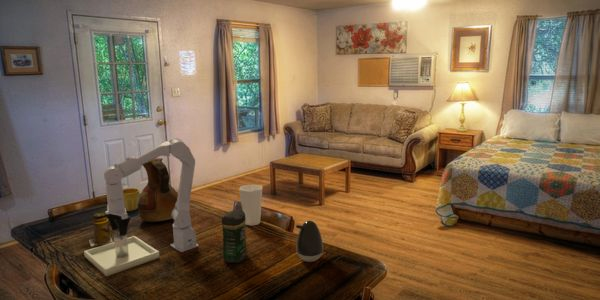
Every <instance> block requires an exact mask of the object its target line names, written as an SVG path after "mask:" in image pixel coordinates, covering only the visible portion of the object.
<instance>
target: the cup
mask: <svg viewBox="0 0 600 300" xmlns="http://www.w3.org/2000/svg"><path fill="white" fill-rule="evenodd" d="M263 189H264V188H263V185H260V184H254V183H253V184H246V185H241V186H240V187H239V196H240V203H241V210H242V211H243V212H244V213H245V218H246V223H245V226H246V225H247V226H256V225H260V223H261V215H262V204H263V203H262V199H263Z"/></svg>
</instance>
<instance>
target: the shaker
mask: <svg viewBox="0 0 600 300" xmlns="http://www.w3.org/2000/svg"><path fill="white" fill-rule="evenodd" d="M127 238H128V233H127V234H126V235H123V236H121V235H120V233H119V231H116V232H114V233H113V242H114V243H115V252H116V257H117V258H123V257H126V256H128V255H129V251H128V242H127Z"/></svg>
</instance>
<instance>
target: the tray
mask: <svg viewBox="0 0 600 300" xmlns="http://www.w3.org/2000/svg"><path fill="white" fill-rule="evenodd" d="M127 242H128V251H129V255H128V256H126V257H123V258H117V257H116V252H115V243H114V241H113V242H109V243H105V244H101V245H98V246H95V247H93V248H90V249H87V250H86V249H85V250H84V251H83V253H84V254H83V255H84V258H85V259H86V260H88V262H90V263H91V264H92V265H93V266H94V267H95V268H96V269H97V270H99V271H100V273H102V274H103V275H104V276H105V277H109V276H112V275H115V274H117V273H120V272H123V271H126V270H129V269H131V268H134V267H137V266H140V265H142V264H145V263H147V262H151V261H154V260H156V259H159V258H160V251H159V250H158V249H156V248H154V247H153V246H152V245H149V244H148V243H146V242H145V241H143V240H142V239H140V238H139V237H137V236H136V235H132V236H130V237H127Z"/></svg>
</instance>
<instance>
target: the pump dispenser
mask: <svg viewBox="0 0 600 300" xmlns="http://www.w3.org/2000/svg"><path fill="white" fill-rule="evenodd" d="M295 228H296V229H299V231H298V235H297V239H296V246H295V252H296V253H297V255H298V257H299V259H301V260H302V261H304V262H308V263H312V262H313V263H314V262H316V261H317V260H319V259H320V258H321V257H322V255H323V251H324V245H323V238H322V233H321V232H320V229H319V227H318V225H317V224H316V222H315V221H313V220H306V221H304V222H303V223H302V225H300V224H296V225H295Z"/></svg>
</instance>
